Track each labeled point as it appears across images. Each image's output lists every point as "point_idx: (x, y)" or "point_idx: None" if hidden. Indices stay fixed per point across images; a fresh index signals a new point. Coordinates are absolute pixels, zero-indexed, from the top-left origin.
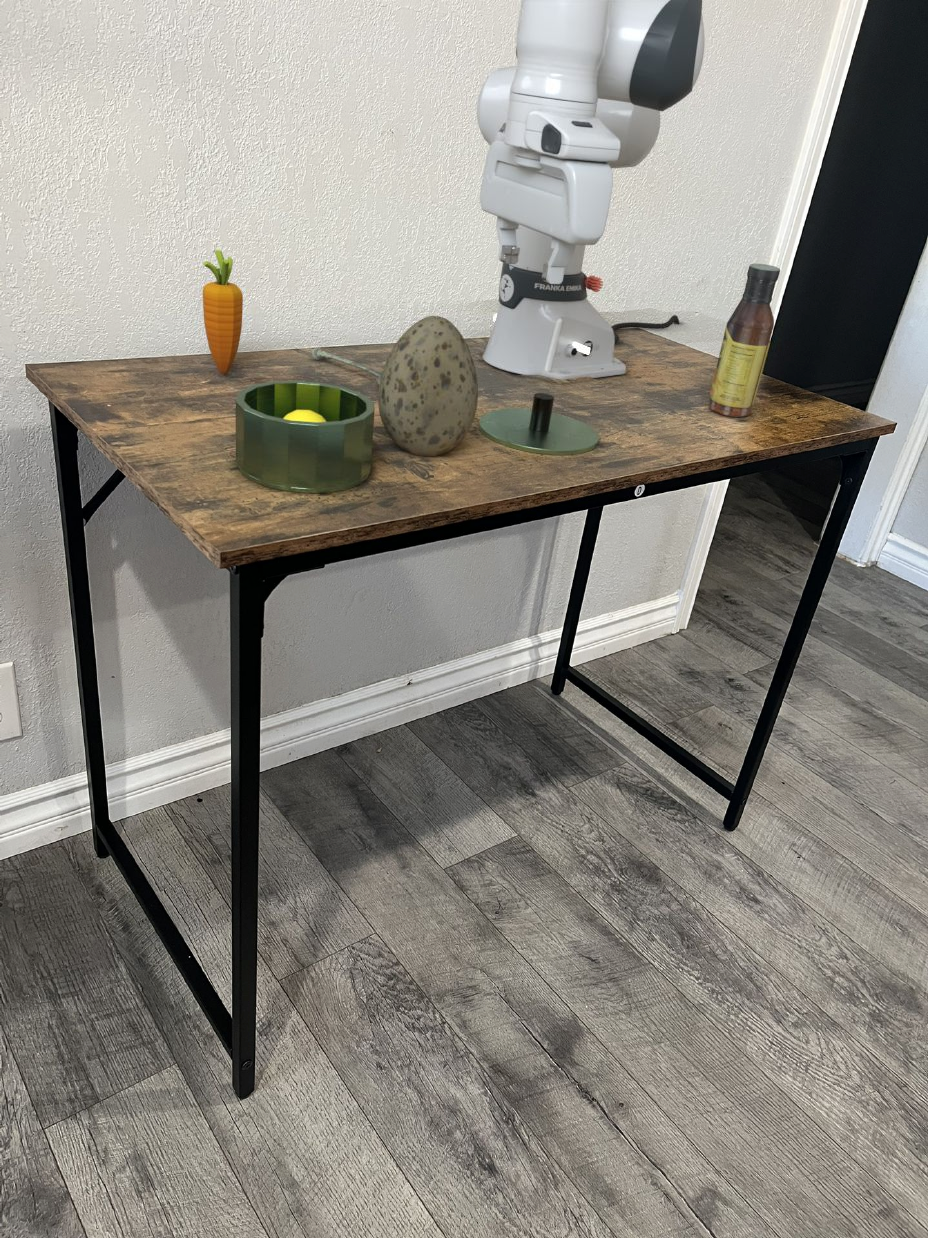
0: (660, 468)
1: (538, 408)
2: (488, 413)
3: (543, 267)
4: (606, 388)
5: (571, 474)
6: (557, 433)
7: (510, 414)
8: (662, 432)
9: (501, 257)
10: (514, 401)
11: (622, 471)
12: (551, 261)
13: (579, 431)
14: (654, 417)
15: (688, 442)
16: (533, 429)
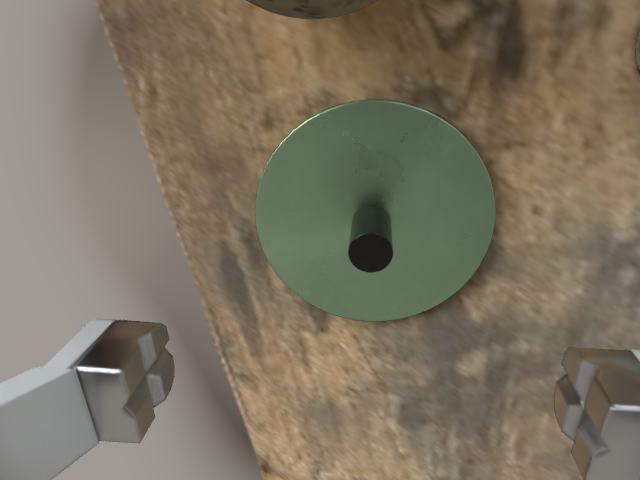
0: (213, 332)
1: (359, 227)
2: (479, 164)
3: (124, 354)
4: (577, 474)
5: (197, 178)
6: (338, 243)
7: (460, 209)
8: (355, 425)
9: (625, 356)
10: (576, 283)
11: (205, 270)
12: (18, 382)
13: (341, 287)
14: (420, 455)
15: (309, 432)
16: (363, 207)
